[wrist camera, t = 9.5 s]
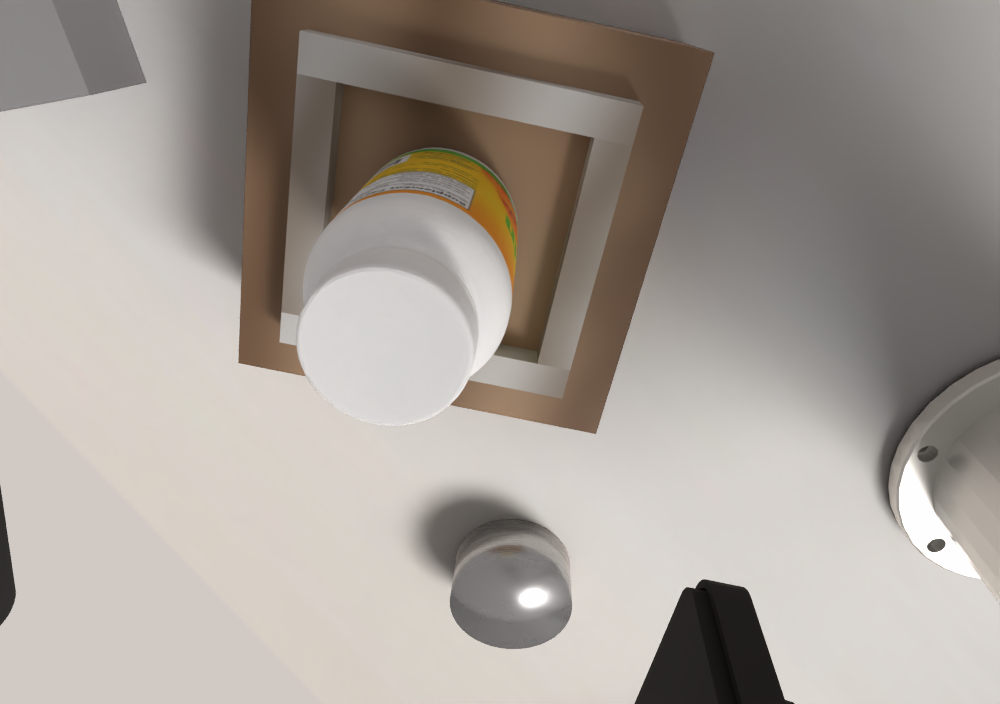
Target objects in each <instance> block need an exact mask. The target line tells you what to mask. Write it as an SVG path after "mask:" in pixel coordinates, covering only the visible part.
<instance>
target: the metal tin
mask: <svg viewBox="0 0 1000 704" xmlns="http://www.w3.org/2000/svg"><path fill="white" fill-rule="evenodd" d="M450 608H451V612H452V615H453V617H454V619H455V621H456V622H457V624H458V625H459V626H460V627H461V629H462V630H464V631H465V632H466V633H467V634H468V635H470V636H471V637H472V638H474V639H476V640H478V641H480V642H482V643H484V644H487V645H490V646H494V647H499V648H506V649H522V648H529V647H533V646H537V645H540V644H542V643H545V642H547V641H549V640H550V639H552V638H553V637H555V636H556V635H557V634H559V633H560V632H561V631H562V629H563V628H564V627H565V626H566V624H567V623H568V620H569V618H570V615H571V611H572V599H571V579H570V562H569V556H568V552H567V550H566V548H565V546H564V545H563V543H562V542H561V541H560V539H559V538H558V537H557V536H556V535H554V534H553V533H552V532H551V531H549V530H548V529H546V528H544V527H542V526H540V525H538V524H535V523H532V522H528V521H524V520H514V519H507V520H498V521H493V522H490V523H487V524H484V525H482V526H480V527H478V528H476V529H475V530H473V531H472V532H471V533H469V534H468V535H467V536H466V537H465V539H464V540H463V541H462V543H461V545H460V547H459V549H458V552H457V556H456V563H455V570H454V576H453V583H452V590H451V596H450Z"/></svg>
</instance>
